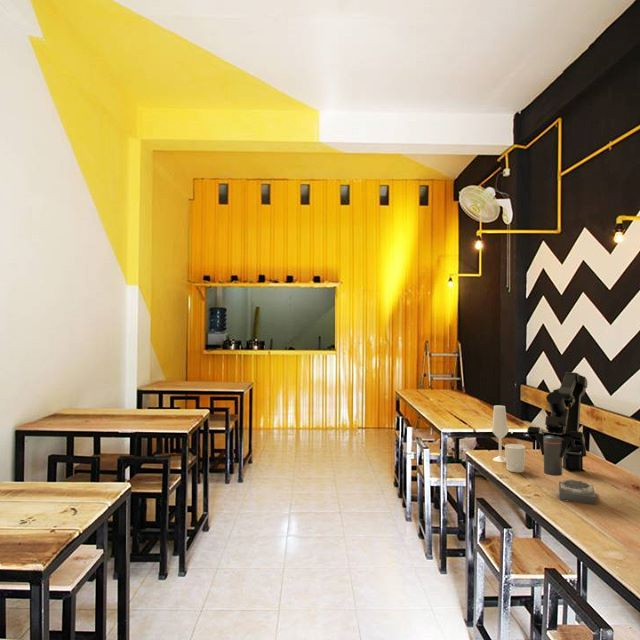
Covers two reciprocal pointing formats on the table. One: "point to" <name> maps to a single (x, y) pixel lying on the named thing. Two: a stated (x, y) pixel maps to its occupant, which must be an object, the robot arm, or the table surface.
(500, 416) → the champagne flute
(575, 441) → the robot arm
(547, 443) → the lens
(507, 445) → the white cup
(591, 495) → the camera body
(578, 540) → the table surface
